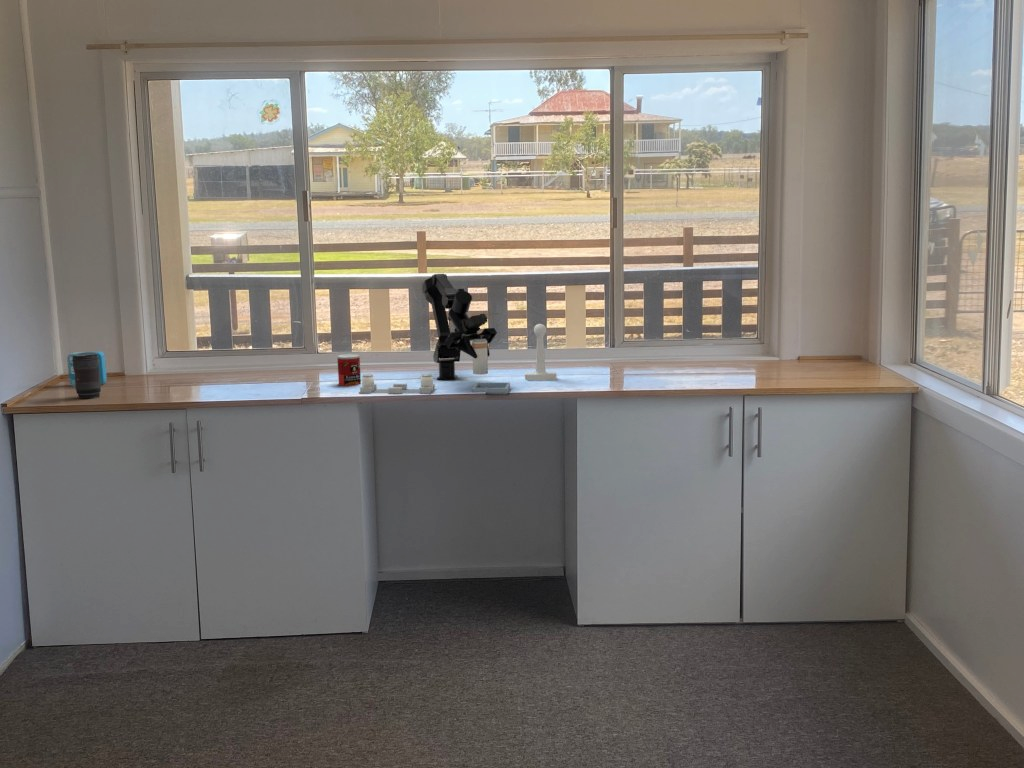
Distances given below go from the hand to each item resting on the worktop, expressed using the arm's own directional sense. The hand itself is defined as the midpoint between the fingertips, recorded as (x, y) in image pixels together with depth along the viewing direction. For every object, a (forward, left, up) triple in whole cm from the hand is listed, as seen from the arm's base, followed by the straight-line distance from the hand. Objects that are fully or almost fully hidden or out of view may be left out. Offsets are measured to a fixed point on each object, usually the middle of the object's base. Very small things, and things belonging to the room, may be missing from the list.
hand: (482, 356), depth 341 cm
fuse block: (+7, -28, -11) cm, 31 cm away
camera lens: (+10, -134, -12) cm, 135 cm away
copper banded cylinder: (-1, -1, -6) cm, 6 cm away
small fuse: (+7, -18, -10) cm, 22 cm away
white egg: (+7, -38, -10) cm, 40 cm away
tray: (+3, +3, -11) cm, 12 cm away
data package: (-15, -147, -12) cm, 148 cm away
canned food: (-8, -48, -12) cm, 50 cm away
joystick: (-22, +18, -12) cm, 31 cm away
